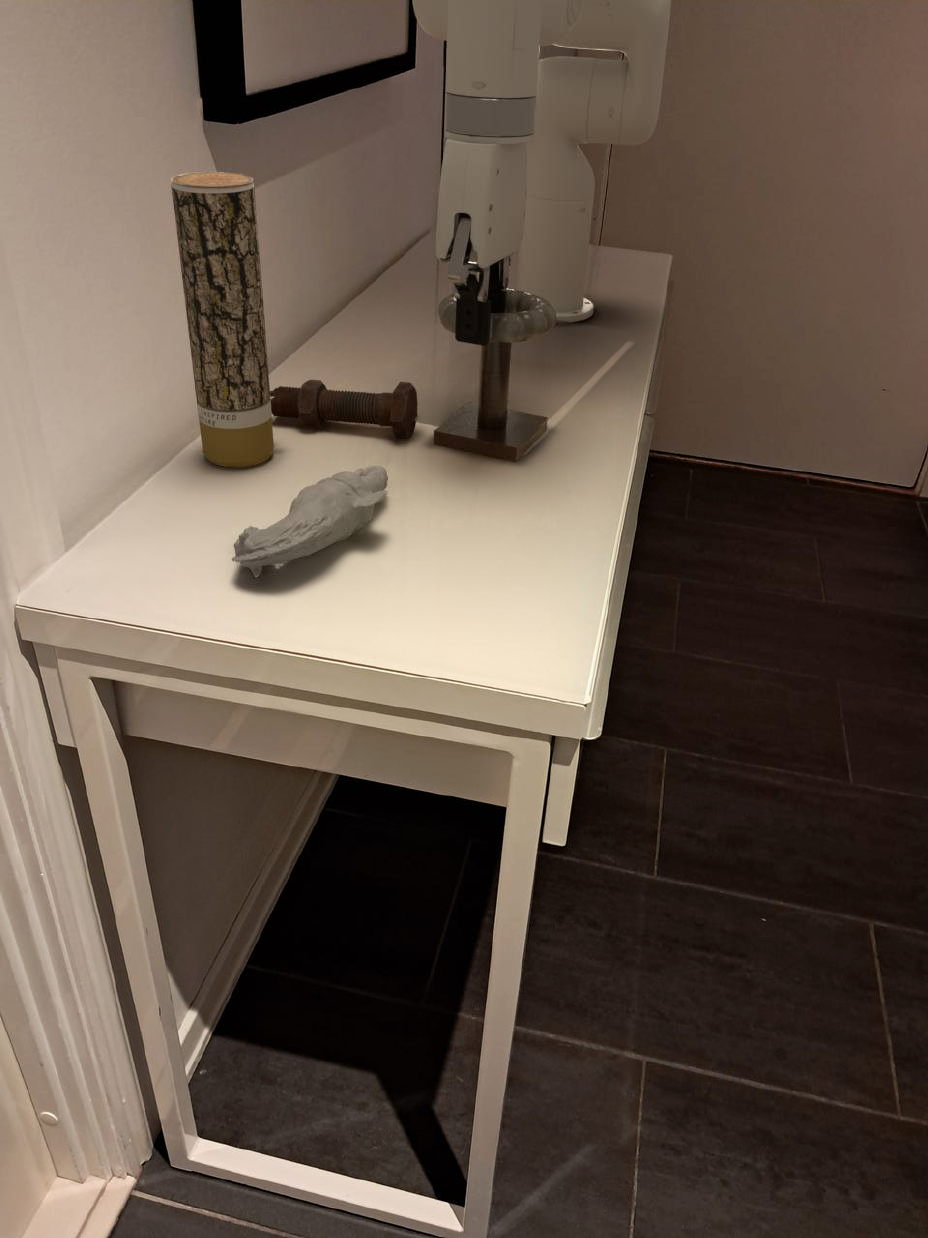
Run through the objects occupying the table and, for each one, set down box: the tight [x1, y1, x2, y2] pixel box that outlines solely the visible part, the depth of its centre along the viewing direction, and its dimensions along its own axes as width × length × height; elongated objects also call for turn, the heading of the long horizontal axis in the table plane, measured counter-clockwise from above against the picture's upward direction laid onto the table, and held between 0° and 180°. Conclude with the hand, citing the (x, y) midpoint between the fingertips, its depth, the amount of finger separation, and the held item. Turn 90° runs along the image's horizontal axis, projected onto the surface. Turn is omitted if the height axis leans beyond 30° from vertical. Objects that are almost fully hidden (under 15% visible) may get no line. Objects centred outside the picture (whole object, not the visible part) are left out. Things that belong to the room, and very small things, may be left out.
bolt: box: [270, 379, 418, 441], centre depth 102 cm, size 6×5×15 cm
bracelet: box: [437, 288, 557, 343], centre depth 95 cm, size 11×11×3 cm
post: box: [433, 342, 549, 463], centre depth 99 cm, size 9×9×12 cm
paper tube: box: [170, 171, 275, 468], centre depth 90 cm, size 7×7×25 cm
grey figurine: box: [231, 465, 389, 578], centre depth 83 cm, size 5×12×20 cm
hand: (480, 335), depth 93 cm, fingers closed on bracelet, 3 cm apart
